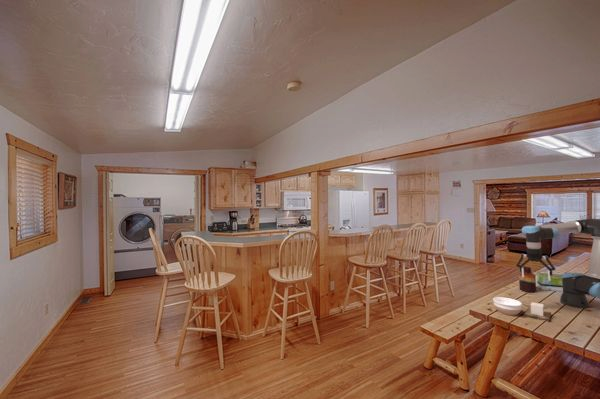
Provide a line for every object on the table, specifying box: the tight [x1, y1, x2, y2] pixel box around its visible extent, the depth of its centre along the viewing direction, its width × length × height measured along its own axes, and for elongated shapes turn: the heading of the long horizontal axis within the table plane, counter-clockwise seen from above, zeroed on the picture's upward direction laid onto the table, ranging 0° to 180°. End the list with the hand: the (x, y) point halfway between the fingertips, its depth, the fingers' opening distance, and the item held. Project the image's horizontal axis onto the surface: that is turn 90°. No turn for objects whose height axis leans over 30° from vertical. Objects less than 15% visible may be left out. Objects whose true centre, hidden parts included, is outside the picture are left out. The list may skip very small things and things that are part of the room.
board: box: [524, 307, 552, 323], centre depth 177 cm, size 12×14×2 cm
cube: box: [530, 301, 545, 316], centre depth 176 cm, size 6×6×6 cm
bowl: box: [492, 296, 523, 317], centre depth 184 cm, size 16×16×8 cm
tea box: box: [536, 270, 563, 293], centre depth 227 cm, size 15×10×15 cm, turn 68°
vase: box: [518, 266, 537, 294], centre depth 224 cm, size 11×11×20 cm
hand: (536, 278), depth 182 cm, fingers open, 13 cm apart
